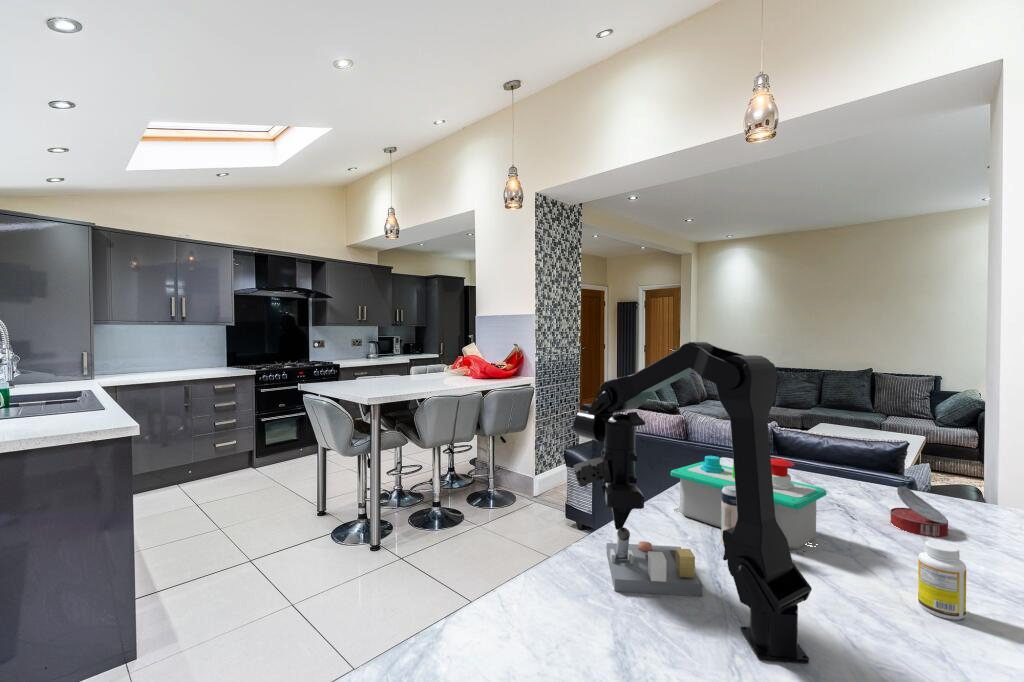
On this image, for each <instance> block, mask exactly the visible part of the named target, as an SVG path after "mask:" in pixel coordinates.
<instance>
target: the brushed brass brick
mask: <svg viewBox="0 0 1024 682" xmlns="http://www.w3.org/2000/svg"><path fill="white" fill-rule="evenodd" d="M675 569H676V571H677V573H678V575H679V577H685V578H695V573H696V557H695V555H694V553H693V551H692V550H691V548H681V549H679V548H676V567H675Z"/></svg>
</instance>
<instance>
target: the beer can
mask: <svg viewBox="0 0 1024 682" xmlns="http://www.w3.org/2000/svg"><path fill="white" fill-rule="evenodd" d="M736 522H737V504H736V490H735V485H725V486H724V487H723V489H722V505H721V528H720V531H721V532H720V543H721V545H723V546H724V542H723V537H722V536H723V531H724V530H726V529H729V528H732V527H735V524H736Z"/></svg>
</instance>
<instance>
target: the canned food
mask: <svg viewBox="0 0 1024 682" xmlns="http://www.w3.org/2000/svg"><path fill="white" fill-rule="evenodd" d="M896 489H897V490H896V491H897V495H898V497H899V499H900V500H901V502H902V503H903V504H904V505H905V506H906V507H894V508H891V509H890V524H891V523H892V524H893V525H894V526H896V527H898V528H900V529H902V530H904V531H903V532H905V531H907V532H906V533H909V534H912V533H913V534H914V535H916V536H921V537H927V536H928V537H929V538H945V537H947V536H949V519H947V517H946V516H945V515H944V514H942V513H941V512H940V511H939V510H938V509H937V508H934V507H933V505H931V504H929V503H928V502H927V501H925V500H924V499H923V498H921V497H920V496H919V495H917V494H915V493H914V491H912V490H911V489H910V488H908V487H907V486H902V485H899V486H898V487H897V488H896ZM894 526H893V527H894ZM896 527H895V528H896ZM898 528H897V529H898ZM900 529H899V530H900ZM902 530H901V531H902Z"/></svg>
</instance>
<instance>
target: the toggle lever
mask: <svg viewBox="0 0 1024 682" xmlns="http://www.w3.org/2000/svg"><path fill="white" fill-rule="evenodd" d="M616 535H617V538H616V539H617V540H616V543H617V552H616V559H624V560H628V546H629V544H630V538H631V532H630V531H629V529H628V528H627V527H624V526H623V527H622V528H620V529H619V530H617V532H616Z"/></svg>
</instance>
